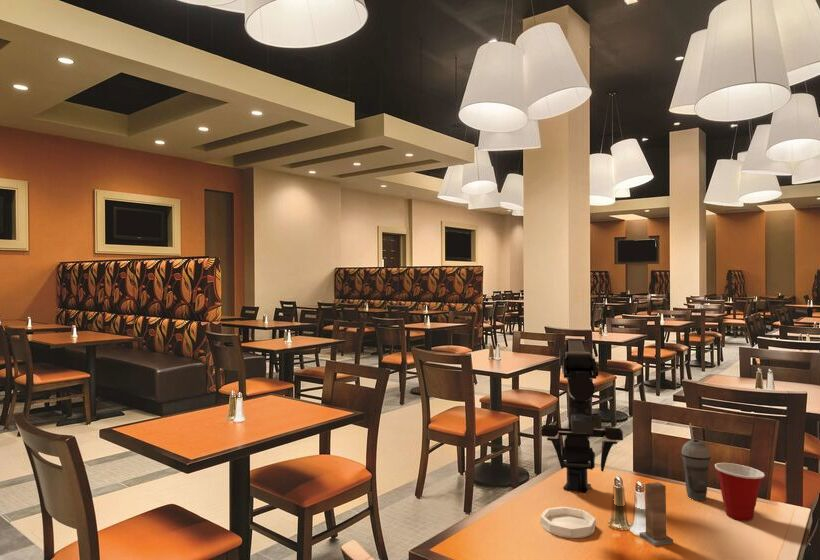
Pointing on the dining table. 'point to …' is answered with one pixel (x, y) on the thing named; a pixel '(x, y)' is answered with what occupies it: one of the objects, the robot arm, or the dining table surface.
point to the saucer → (568, 522)
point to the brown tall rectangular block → (655, 515)
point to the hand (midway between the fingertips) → (582, 470)
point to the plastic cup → (739, 489)
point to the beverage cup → (696, 467)
